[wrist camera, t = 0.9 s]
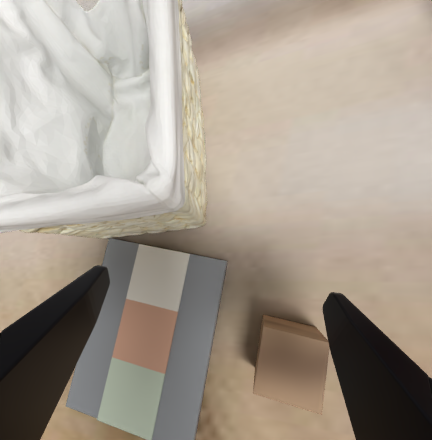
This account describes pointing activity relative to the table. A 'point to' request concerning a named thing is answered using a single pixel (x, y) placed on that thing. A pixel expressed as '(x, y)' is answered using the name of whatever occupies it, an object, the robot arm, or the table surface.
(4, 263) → the table surface
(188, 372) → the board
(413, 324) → the table surface
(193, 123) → the storage basket
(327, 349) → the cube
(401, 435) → the robot arm
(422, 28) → the table surface
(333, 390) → the table surface
